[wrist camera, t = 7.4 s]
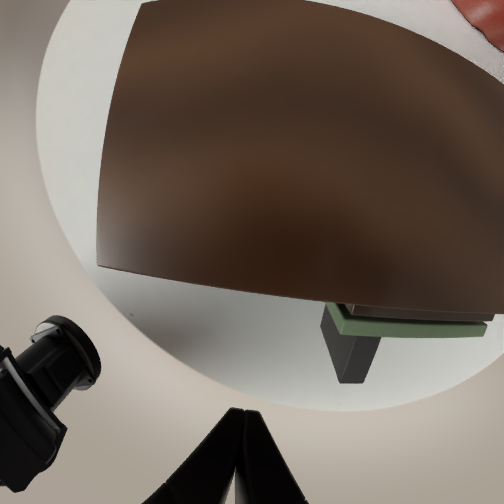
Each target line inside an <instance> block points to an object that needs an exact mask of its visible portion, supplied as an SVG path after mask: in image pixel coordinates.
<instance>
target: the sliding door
mask: <svg viewBox="0 0 504 504" xmlns="http://www.w3.org/2000/svg"><path fill="white" fill-rule="evenodd" d="M325 303H326V305H325V309H324V313H323V317H322V321H321V325H320V327H321V330H322V333H323V336H324V339H325V341H326V344H327V347H328V350H329V353H330V356H331V359H332V362H333V365H334V368H335V371H336V374H337V378H338V381H339V383H356V384H359V383H363V382H364V380H365V378H366V375H367V373H368V370H369V368H370V366H371V363H372V361H373V358H374V355H375V353H376V350H377V348H378V345H379V342H380V339H381V337H400V338H458V337H483V336H484V333H485V331H486V328H487V324H486V323H484V322H483V321H443V320H418V319H400V318H384V317H371V316H359V315H351V314H350V312H349V311H348V309H347V307H346V306H345V304H341V303H331V302H325Z"/></svg>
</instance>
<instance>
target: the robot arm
mask: <svg viewBox="0 0 504 504" xmlns="http://www.w3.org/2000/svg"><path fill="white" fill-rule="evenodd" d="M30 340H31V342H32V344H33V345H32V346H30V347H29V348H28V349H26V350H25V351H24V352H23V353H21V354H20V355H19V356H18V357H16V358H14V357H13V355H12V352H11V350H10V348H9V347H7V348H5V349H4V348H3V347H2V346H1V345H0V486H7V487H8V488H9V489H10V490H11V491H12V492H14V493H16V492H20V491H24V490H25V489H26V488H27V486H28V485H29V484H30V482H31V481H32V480H33V478H34V477H35V476H36V475H37V474H38V473H40V472H43V471H45V470H46V469H47V468H48V467H50V466H51V464H52V463H53V462H54V460H55V458H56V456H57V453H58V451H59V448H60V446H61V443H62V441H63V438H64V436H65V434H66V431H67V429H68V428H67V427H66V426H65V425H64V424H62V423H61V422H60V421H59V419H58V418H57V417H56V416H55V415H54V413H53V412H54V411H55V409H56V408H57V407H58V405H60V403H61V402H62V401H63V400H64V399H65V398H66V396H67V395H68V394H69V393H70V392H71V390H72V389H73V388H74V387H80V386H88V385H94V384H95V382H96V379H95V377H94V376H93V374H92V373H91V372H90V370H89V369H88V367H87V366H86V364H85V363H84V361H83V359H82V358H81V356H80V355H79V353H78V352H77V350H76V348H75V347H74V345H73V343H72V342H71V340H70V338H69V337H68V335H67V333H66V331H65V330H64V328H63V327H62V326H61V325H57V326H54V327H52V328H49V329H47V330H45V331H42V332H40V333H37V334H35V335H33V336H31V337H30ZM235 468H236V469H235ZM234 472H235V504H309V503H308V502H307V500H305V497H304V495H303V493H302V491H301V490H300V488H299V486H298V484H297V483H296V481H295V479H294V477H293V475H292V474H291V472H290V470H289V468H288V466H287V464H286V463H285V461H284V459H283V457H282V455H281V453H280V451H279V449H278V447H277V445H276V443H275V441H274V440H273V438H272V436H271V434H270V432H269V430H268V428H267V426H266V424H265V422H264V420H263V418H262V416H261V414H260V412H259V411H254V410H245V412H244V410H243V409H239V408H233V407H232V408H230V409H229V410H228V411H227V412H226V414H225V415H224V416H223V417H222V418H221V420H220V421H219V422H218V423H217V424H216V426H215V427H214V428H213V429H212V430H211V431H210V433H209V434H208V435H207V436H206V437H205V439H204V440H203V441H202V442H201V443H200V444H199V446H198V447H197V448H196V449H195V450H194V451H193V452H192V453H191V454H190V456H189V457H188V458H187V459H186V460H185V461H184V462H183V463H182V465H180V467H179V468H178V469H177V470H176V471H175V472H174V473H173V474H172V475H171V476H170V477H169V479H167V481H166V483H163V484H162V485H161V486H160V487H159V488H158V489H157V490H156V491H155V492H154V493H153V494H152V495H151V496H150V497H149V498H148V499H147V500H145V501H144V502H143V503H142V504H225V501H226V498H227V495H228V492H229V489H230V486H231V483H232V480H233V476H234Z"/></svg>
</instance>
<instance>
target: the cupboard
mask: <svg viewBox="0 0 504 504" xmlns="http://www.w3.org/2000/svg"><path fill="white" fill-rule="evenodd" d="M97 265H98V266H100V267H105V268H110V269H115V270H120V271H125V272H131V273H136V274H141V275H147V276H152V277H157V278H163V279H169V280H175V281H180V282H186V283H192V284H198V285H205V286H211V287H217V288H224V289H230V290H237V291H244V292H251V293H258V294H266V295H273V296H281V297H289V298H297V299H305V300H313V301H322V302H331V303H341V304H345V306H346V307H347V309H348V311H349V312H350V314H351V315H359V316H371V317H384V318H400V319H418V320H443V321H492V320H493V318H494V315H495V314H504V84H502V83H501V82H500V81H498V80H497V79H496V78H494V77H493V76H491V75H490V74H489V73H487V72H486V71H484V70H483V69H481V68H480V67H478V66H477V65H475V64H473V63H472V62H470V61H469V60H467V59H465V58H464V57H462V56H460V55H459V54H457V53H455V52H453V51H451V50H450V49H448V48H446V47H444V46H442V45H440V44H438V43H436V42H434V41H432V40H430V39H428V38H426V37H424V36H422V35H419V34H417V33H415V32H413V31H410V30H408V29H405V28H403V27H400V26H398V25H395V24H393V23H390V22H387V21H384V20H381V19H379V18H376V17H372V16H369V15H366V14H363V13H359V12H356V11H352V10H348V9H344V8H340V7H336V6H332V5H327V4H322V3H317V2H312V1H306V0H157V1H151V2H145V3H142V4H141V6H140V9H139V11H138V14H137V16H136V19H135V22H134V24H133V27H132V30H131V33H130V35H129V38H128V41H127V44H126V48H125V51H124V54H123V57H122V61H121V64H120V68H119V71H118V75H117V79H116V83H115V87H114V91H113V95H112V100H111V105H110V110H109V115H108V120H107V126H106V131H105V138H104V144H103V152H102V160H101V168H100V178H99V191H98V207H97Z"/></svg>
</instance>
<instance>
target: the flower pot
mask: <svg viewBox="0 0 504 504" xmlns="http://www.w3.org/2000/svg"><path fill="white" fill-rule="evenodd" d="M451 1H452V2H453V3H454V5H455V6H456V7H457V8H458V10H459V11H460V12H461V13H462V14H463V15H464V17H465V18H466V19H467V20H468V21H469V22H470V23H471V24H472V25H473V26H474V27H477V28H479V29H480V30H481V31H482V32H483V33H484V34H485V35H486V37H487V40H488V41H489V42H491V43H492V44H493V45H494V46H496V47H497V48H498V49H500V50H502V51H503V52H504V0H451Z"/></svg>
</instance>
